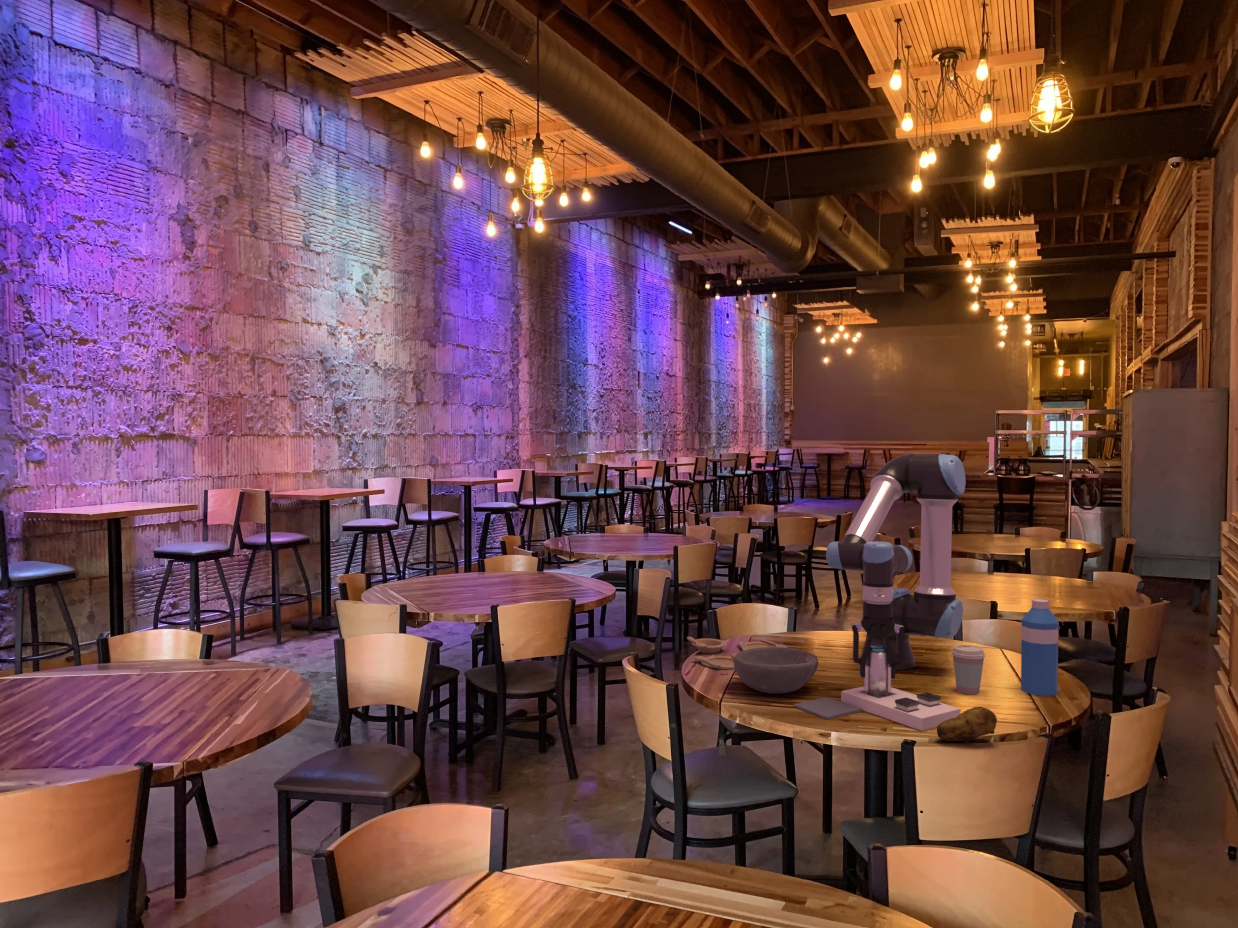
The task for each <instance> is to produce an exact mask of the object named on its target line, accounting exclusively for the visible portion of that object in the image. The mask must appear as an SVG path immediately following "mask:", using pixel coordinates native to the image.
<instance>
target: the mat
mask: <svg viewBox="0 0 1238 928" xmlns="http://www.w3.org/2000/svg"><path fill="white" fill-rule="evenodd" d="M793 707H794V708H796V709H799V710H802V711H804V712H807V713H810V714H812V715H814V716H817V717H820V718H823V719H824V720H830V719H835V718H839V717H843V716H847V715H852V714H857V713H861V712H862V710H861V709H860V708H857V707H854V706H851V705H849V704H846V703H843V702H841V700H838V699H835V698H831V697H828V696H826V697H822V698H821V697H820V698H817V699H813V700H808V701H807V700H806V701H803V702H797V703H793Z"/></svg>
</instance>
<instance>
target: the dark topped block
mask: <svg viewBox="0 0 1238 928" xmlns="http://www.w3.org/2000/svg"><path fill="white" fill-rule="evenodd" d="M916 695H917V698H918V701H919V704H921V705H925V706H928V707H933V706H938V705H939V702H940V701H941V700H942V699H941V696H940V695H937V694H934V693H932V692H931V693H930V692H924V693H923V692H922V693H919V694H916Z"/></svg>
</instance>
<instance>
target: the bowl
mask: <svg viewBox="0 0 1238 928" xmlns="http://www.w3.org/2000/svg"><path fill="white" fill-rule="evenodd" d="M736 653H737V654H736V655H735V657H734V667H735V669H734V670H735V672H736V675H737V676H738V678H739V679H740V680H741V681H742V682H743V683H744V684H745V685H746V686H748V687H750V688H751V689H753V690H756V691H758V692H761V693H766V694H774V695H777V694H779V695H782V694H789V693H792V692H796V691H798V690H799V689H801V688H803V686H805V685H806V684H808V682H809V681H810V680H811V679H812V678H813V676H814V675H815V673H817V670H818V666H819V659H818V656H817V655H815V654H814V653H811V652H808V651H806V650H803V649H799V648H792V647H788V648H785V647H761V648H753V649H747V650H741V651H738V652H736Z"/></svg>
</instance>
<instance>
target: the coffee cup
mask: <svg viewBox="0 0 1238 928" xmlns="http://www.w3.org/2000/svg"><path fill="white" fill-rule="evenodd" d="M951 655H952V660H953V671H954V677H955V678H954V679H955V688H956V691H957V692H958V693H960V694H965V695H978V694H980V690H981V683H982V675H983V668H984V660H985V657H986V653H985V652H984V649H983V648H982V647H980V646H976V645H971V644H957V645H954V646H953V649H952V650H951Z"/></svg>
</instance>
